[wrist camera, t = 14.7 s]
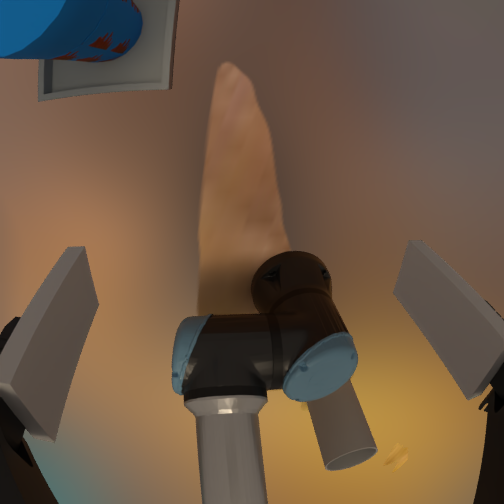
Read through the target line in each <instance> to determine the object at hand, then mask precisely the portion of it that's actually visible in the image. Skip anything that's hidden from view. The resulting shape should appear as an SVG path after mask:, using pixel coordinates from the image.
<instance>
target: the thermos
mask: <svg viewBox="0 0 504 504" xmlns="http://www.w3.org/2000/svg"><path fill="white" fill-rule="evenodd" d="M142 25H143V20H142V15H141V12H140V10H139V9H138V8H137V6H136V5H135V3H134V2H133V1H132V0H0V58H5V59H51V60H70V61H83V62H105V61H111V60H115V59H117V58H119V57H121V56H122V55H124V54H126V53H127V52H128V51H129V50H130V49H131V48H132V47H133V46H134V45H135V43H136V42H137V40H138V38H139V37H140V35H141V30H142Z"/></svg>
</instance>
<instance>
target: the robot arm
mask: <svg viewBox="0 0 504 504" xmlns="http://www.w3.org/2000/svg"><path fill="white" fill-rule="evenodd" d="M251 292H252V297H253V302H254V304H255V307H256V308H257V310H258V311H259V312H260V314H230V315H213V314H208V315H207V316H193V317H187V318H185V319H184V320H183V321H182V322H181V323H180V325H179V327H178V330H177V333H176V336H175V341H174V347H173V355H172V371H173V372H172V387H173V390H174V391H175V393H177V394H179V395H184V406H185V407H186V408H187V409H188V410H189V411H190V412H192V413H193V415H194V416H195V417H196V433H197V447H198V460H199V472H200V484H201V494H202V504H268V501H267V492H266V483H265V475H264V465H263V456H262V447H261V438H260V428H259V419H258V413H259V411H260V410H261V409H262V407H263V406H264V405H265V404H266V403H267V401H268V400H267V390H273V389H283V391H284V393H285V394H286V395H287V397H288V398H290V399H292V400H296V401H299V402H307V401H313V400H317V399H320V398H322V397H325V396H327V395H329V394H331V393H333V392H334V391H336V390H337V389H339V388H340V387H341V386H343V385H344V384H345V383H346V382H347V381H348V380H349V379H350V378H351V376H352V375H353V373H354V371H355V369H356V367H357V363H358V354H357V351H356V348H355V346H354V343H353V338H352V336H351V335H350V334H349V332H348V330H347V328H346V326H345V324H344V322H343V320H342V318H341V316H340V314H339V312H338V310H337V309H336V306H335V304H334V302H333V301H332V282H331V277H330V274H329V272H328V270H327V268H326V266H325V265H324V263H323V262H322V261H321V260H320V259H319V258H318V257H316V256H315V255H313V254H310V253H307V252H301V251H291V252H285V253H282V254H279V255H276V256H274V257H272V258H271V259H269V260H268V261H266V262H265V263H264V264H263V265H262V266H261V267H260V268H259V269H258V271H257V272H256V274H255V275H254V278H253V280H252V285H251ZM393 293H394V295H395V296H396V297H397V299H398V300H399V301H400V303H401V304H402V305H403V307H404V308H405V310H406V311H407V312H408V314H409V315H410V316H411V318H412V319H413V320H414V322H415V323H416V324H417V326H418V327H419V329H420V330H421V331H422V333H423V334H424V336H425V337H426V339H427V340H428V341H429V343H430V344H431V345H432V347H433V349H434V350H435V351H436V353H437V354H438V356H439V357H440V359H441V360H442V361H443V363H444V365H445V366H446V367H447V369H448V371H449V372H450V374H451V375H452V376H453V378H454V380H455V381H456V383H457V384H458V386H459V387H460V389H461V390H462V392H463V394H464V395H465V397H466V399H467V400H470V399H472V398H475V397H477V396H479V395H481V394H482V393H483V391H484V390H485V388H486V387H487V386H488V385H489V383H490V384H491V386H492V387H493V389H492V390H491V391H490V393H489V394H488V395H487V397H486V398H485V399H484V400H483V402H482V403H481V404H480V406H479V410H481V409H482V408H483V406H484V405H485V404H486V403H488V406H487V407H486V408H485V409H484V411H486V412H488V414H487V425H486V435H485V444H484V451H483V458H482V464H481V470H480V475H479V481H478V485H477V490H476V494H475V499H474V503H473V504H504V319H503V318H501V316H500V315H499V314H498V313H497V312H495V309H494V308H493V307H492V306H491V305H490V304H489V303H488V302H487V301H486V300H484V299H483V298H482V297H481V296H480V295H479V294H478V293H477V292H476V291H475V290H474V289H473V288H472V287H471V286H470V285H469V284H468V283H467V282H466V281H465V280H464V279H463V278H462V277H461V276H460V275H459V274H458V273H457V272H456V271H455V270H453V268H451V267H450V266H449V265H448V264H447V263H446V262H445V261H444V260H443V259H442V258H441V257H440V256H439V255H438V254H436V253H435V252H434V251H433V250H432V249H431V248H430V247H429V246H428V245H426V244H425V243H424V242H423V241H422V240H411V241H410V240H409V241H408V245H407V248H406V252H405V256H404V259H403V262H402V266H401V269H400V272H399V276H398V280H397V282H396V285H395V288H394V291H393ZM98 306H99V303H98V299H97V295H96V292H95V288H94V284H93V280H92V276H91V272H90V267H89V263H88V259H87V254H86V249H85V247H84V246H83V247H82V246H81V247H68V248H67V249H66V250H65V252H64V253H63V254H62V256H61V257H60V258H59V260H58V261H57V263H56V264H55V266H54V267H53V268H52V270H51V271H50V273H49V274H48V276H47V277H46V279H45V280H44V282H43V283H42V285H41V286H40V288H39V289H38V291H37V293H36V294H35V296H34V297H33V299H32V300H31V302H30V304H29V305H28V307H27V308H26V310H25V312H24V313H23V315H22V317H15V318H14V319H13V320H12V321H10V322H9V323H8V324H7V325H6V326H5V327H4V329H3V331H2V332H1V334H0V504H58V502H57V500H56V498H55V497H54V495H53V493H52V491H51V490H50V488H49V486H48V484H47V482H46V481H45V479H44V477H43V475H42V473H41V471H40V469H39V467H38V465H37V463H36V461H35V459H34V457H33V455H32V453H31V451H30V448H29V446H28V444H27V442H26V441H25V439H24V438H23V434H24V430H25V428H26V429H27V431H28V432H29V433H30V434H31V435H32V436H33V438H36V439H40V440H44V441H48V442H53V443H55V440H56V436H57V432H58V428H59V424H60V420H61V416H62V413H63V409H64V406H65V402H66V399H67V395H68V392H69V388H70V385H71V382H72V379H73V376H74V373H75V370H76V366H77V363H78V360H79V357H80V354H81V352H82V349H83V346H84V343H85V340H86V338H87V335H88V332H89V329H90V327H91V324H92V321H93V319H94V316H95V314H96V311H97V309H98Z"/></svg>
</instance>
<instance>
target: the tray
mask: <svg viewBox="0 0 504 504" xmlns="http://www.w3.org/2000/svg"><path fill="white" fill-rule="evenodd" d="M132 1H133V2H134V3H135V5H136V6H137V8H138V9H139V10H140V12H141V15H142V20H143V25H142V30H141V35H140V37H139V38H138V40H137V42H136V43H135V45H134V46H133V47H132V48H131V49H130V50H129V51H128V52H127V53H126V54H124V55H122V56H121V57H119V58H117V59H115V60H111V61H105V62H83V61H70V60H51V59H39V70H38V102H40V101H45V100H52V99H58V98H65V97H72V96H80V95H88V94H97V93H109V92H120V91H137V90H166V89H172V77H173V63H174V50H175V39H176V28H177V19H178V10H179V1H180V0H132Z"/></svg>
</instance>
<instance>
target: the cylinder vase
mask: <svg viewBox="0 0 504 504" xmlns="http://www.w3.org/2000/svg"><path fill="white" fill-rule="evenodd" d="M307 405H308V409H309V412H310V415H311V419H312V423H313V426H314V430H315V433H316V437H317V440H318V444H319V447H320V451H321V455H322V458H323V461H324V465H325V469H326V470H330V471H334V470H342V469H346V468H350V467H353V466H355V465H358V464H360V463H362V462H364V461H366V460H368V459H370V458H371V457H372V456H374V455H375V454H376V453H377V451H378V449H377V447H376V444H375V441H374V439H373V436H372V434H371V431H370V428H369V426H368V423H367V421H366V418H365V416H364V414H363V411H362V408H361V406H360V403H359V401H358V398H357V396H356V393H355V391H354V388H353V386H352V383H351V381H350V379H349V380H348V381H347V382H346V383H345V384H344V385H343V386H341V387H340V388H339V389H337V390H336V391H334V392H333V393H331V394H329V395H327V396H325V397H322V398H320V399H317V400H313V401H307Z"/></svg>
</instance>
